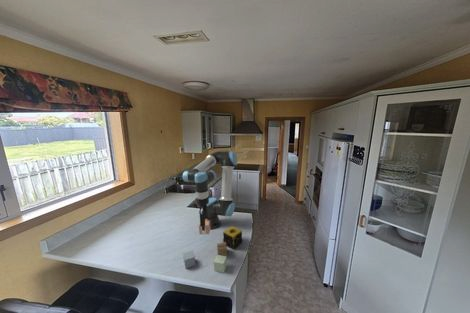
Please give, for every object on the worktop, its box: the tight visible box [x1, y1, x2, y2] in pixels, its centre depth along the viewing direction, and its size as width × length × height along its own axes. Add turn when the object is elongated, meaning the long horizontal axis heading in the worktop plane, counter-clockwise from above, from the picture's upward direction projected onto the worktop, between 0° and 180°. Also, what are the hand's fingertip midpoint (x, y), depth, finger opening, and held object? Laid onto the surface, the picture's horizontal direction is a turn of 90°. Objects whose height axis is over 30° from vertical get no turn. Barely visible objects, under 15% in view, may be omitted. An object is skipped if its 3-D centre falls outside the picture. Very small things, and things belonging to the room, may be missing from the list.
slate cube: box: [182, 250, 196, 270], centre depth 112 cm, size 6×6×6 cm
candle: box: [222, 225, 243, 250], centre depth 129 cm, size 10×10×10 cm
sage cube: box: [213, 254, 228, 273], centre depth 107 cm, size 6×6×6 cm
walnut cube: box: [216, 242, 228, 257], centre depth 119 cm, size 6×6×6 cm
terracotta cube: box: [198, 220, 211, 235], centre depth 114 cm, size 6×6×6 cm
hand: (205, 230), depth 115 cm, fingers closed on terracotta cube, 6 cm apart
